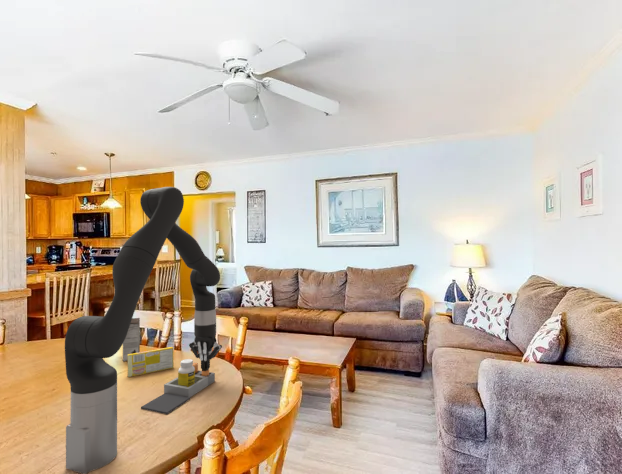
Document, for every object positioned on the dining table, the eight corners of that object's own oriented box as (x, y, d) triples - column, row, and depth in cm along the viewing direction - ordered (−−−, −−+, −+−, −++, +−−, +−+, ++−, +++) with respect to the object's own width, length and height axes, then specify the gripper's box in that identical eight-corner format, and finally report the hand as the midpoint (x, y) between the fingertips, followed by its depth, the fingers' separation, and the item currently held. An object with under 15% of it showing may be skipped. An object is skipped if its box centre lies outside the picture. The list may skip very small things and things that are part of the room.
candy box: (172, 366, 138) (172, 346, 138) (173, 368, 136) (173, 347, 136) (127, 375, 129) (127, 353, 129) (127, 377, 127) (127, 355, 128)
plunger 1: (194, 374, 122) (194, 365, 122) (188, 373, 123) (188, 364, 123) (199, 371, 125) (199, 363, 125) (193, 370, 126) (193, 362, 126)
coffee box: (123, 355, 152) (123, 318, 152) (139, 352, 155) (140, 317, 155) (122, 361, 144) (122, 323, 144) (139, 359, 146) (139, 321, 147)
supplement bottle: (189, 393, 113) (189, 364, 113) (174, 392, 114) (174, 363, 115) (197, 386, 119) (197, 358, 119) (183, 385, 120) (183, 357, 120)
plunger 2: (206, 380, 121) (206, 372, 121) (200, 379, 122) (200, 371, 122) (210, 377, 123) (210, 369, 123) (204, 376, 124) (204, 368, 124)
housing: (188, 398, 110) (188, 388, 110) (164, 393, 114) (164, 384, 114) (214, 381, 123) (214, 372, 123) (192, 377, 127) (192, 369, 127)
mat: (167, 414, 100) (167, 412, 100) (140, 408, 103) (140, 406, 103) (190, 399, 109) (190, 397, 109) (165, 394, 113) (165, 392, 113)
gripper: (183, 322, 121) (183, 371, 121) (214, 326, 117) (214, 376, 117) (196, 318, 128) (197, 364, 128) (227, 321, 124) (227, 368, 124)
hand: (205, 370), depth 122 cm, fingers closed
